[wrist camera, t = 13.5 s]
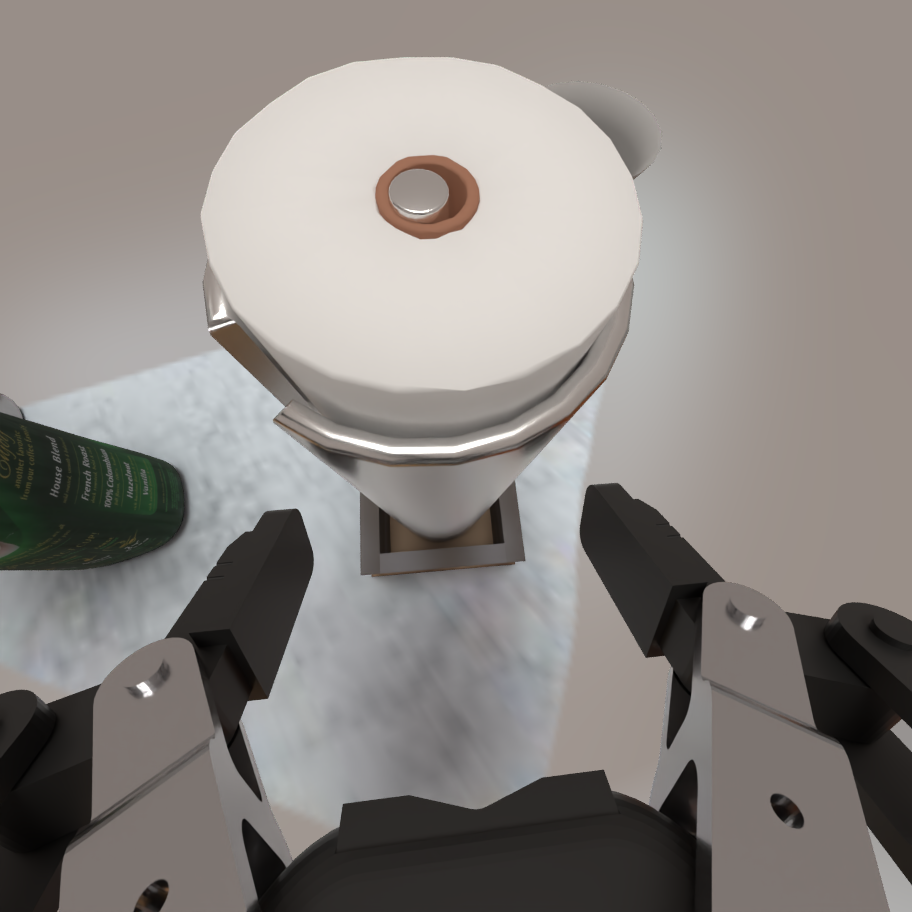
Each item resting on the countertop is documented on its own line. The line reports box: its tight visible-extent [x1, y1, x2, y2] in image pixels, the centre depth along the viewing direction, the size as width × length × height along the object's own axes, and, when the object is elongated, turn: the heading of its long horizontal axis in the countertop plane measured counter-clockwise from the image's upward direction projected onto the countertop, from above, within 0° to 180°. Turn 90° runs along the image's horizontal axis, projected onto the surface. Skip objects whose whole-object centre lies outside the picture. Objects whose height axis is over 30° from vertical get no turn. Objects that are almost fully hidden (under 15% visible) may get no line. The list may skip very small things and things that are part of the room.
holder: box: [360, 480, 525, 577], centre depth 26 cm, size 11×11×6 cm
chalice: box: [545, 81, 662, 180], centre depth 25 cm, size 7×7×18 cm
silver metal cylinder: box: [200, 57, 643, 543], centre depth 16 cm, size 6×6×25 cm
